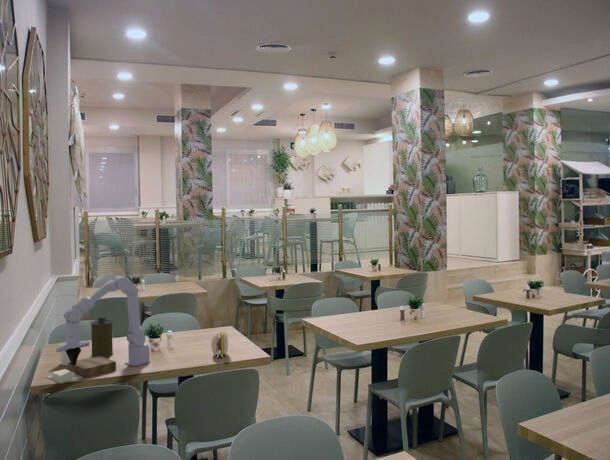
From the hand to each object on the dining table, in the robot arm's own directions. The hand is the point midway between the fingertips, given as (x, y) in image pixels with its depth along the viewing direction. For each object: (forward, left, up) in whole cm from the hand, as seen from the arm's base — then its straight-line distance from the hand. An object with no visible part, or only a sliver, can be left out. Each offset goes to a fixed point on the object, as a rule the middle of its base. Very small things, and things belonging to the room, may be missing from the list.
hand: (73, 364), depth 235 cm
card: (+5, 0, -2) cm, 5 cm away
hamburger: (-63, +27, -5) cm, 69 cm away
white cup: (-7, -20, -5) cm, 22 cm away
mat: (+4, 0, -5) cm, 6 cm away
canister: (-25, -21, -5) cm, 33 cm away
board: (-9, 0, -5) cm, 10 cm away
